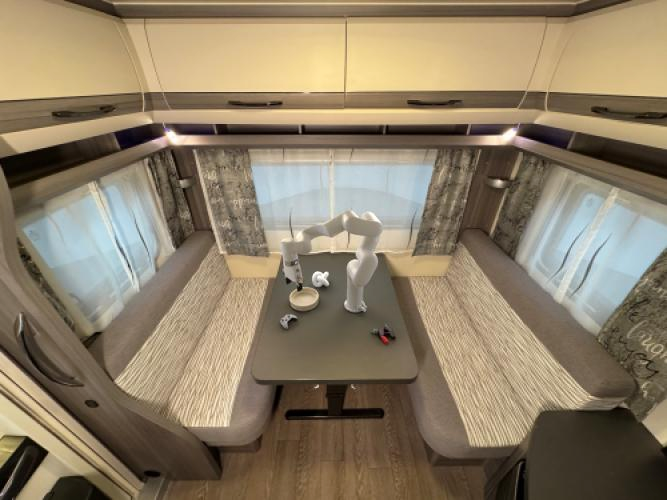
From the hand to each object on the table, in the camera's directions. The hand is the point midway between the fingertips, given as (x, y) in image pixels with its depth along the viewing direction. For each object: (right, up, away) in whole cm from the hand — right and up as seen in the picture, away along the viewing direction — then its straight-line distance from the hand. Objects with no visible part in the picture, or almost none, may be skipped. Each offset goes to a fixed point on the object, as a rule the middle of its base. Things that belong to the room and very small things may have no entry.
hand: (294, 286), depth 142 cm
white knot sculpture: (+14, -3, +35) cm, 38 cm away
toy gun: (+48, -26, -5) cm, 55 cm away
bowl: (+3, -12, +20) cm, 23 cm away
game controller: (-4, -21, +5) cm, 22 cm away
